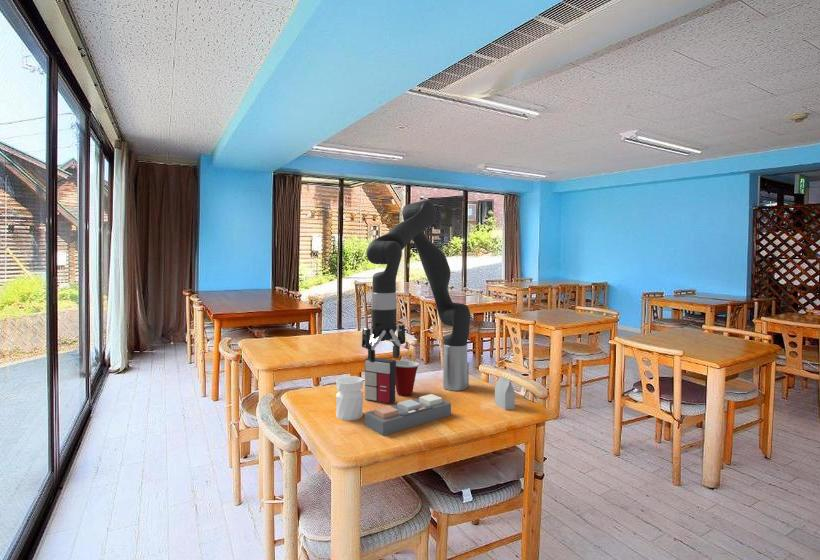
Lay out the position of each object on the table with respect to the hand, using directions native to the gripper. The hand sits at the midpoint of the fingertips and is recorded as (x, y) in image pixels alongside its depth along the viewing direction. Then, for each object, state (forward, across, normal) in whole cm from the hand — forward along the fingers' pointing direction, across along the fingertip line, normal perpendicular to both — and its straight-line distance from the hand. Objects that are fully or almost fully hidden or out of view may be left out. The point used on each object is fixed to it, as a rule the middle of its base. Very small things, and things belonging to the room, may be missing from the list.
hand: (384, 359), depth 143 cm
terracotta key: (+18, 0, 0) cm, 18 cm away
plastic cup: (+21, -24, -22) cm, 39 cm away
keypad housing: (+21, -9, 0) cm, 23 cm away
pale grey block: (+21, -44, +9) cm, 49 cm away
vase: (+21, +4, -14) cm, 26 cm away
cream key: (+18, -18, 0) cm, 26 cm away
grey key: (+18, -9, 0) cm, 20 cm away
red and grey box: (+21, -12, -21) cm, 32 cm away
